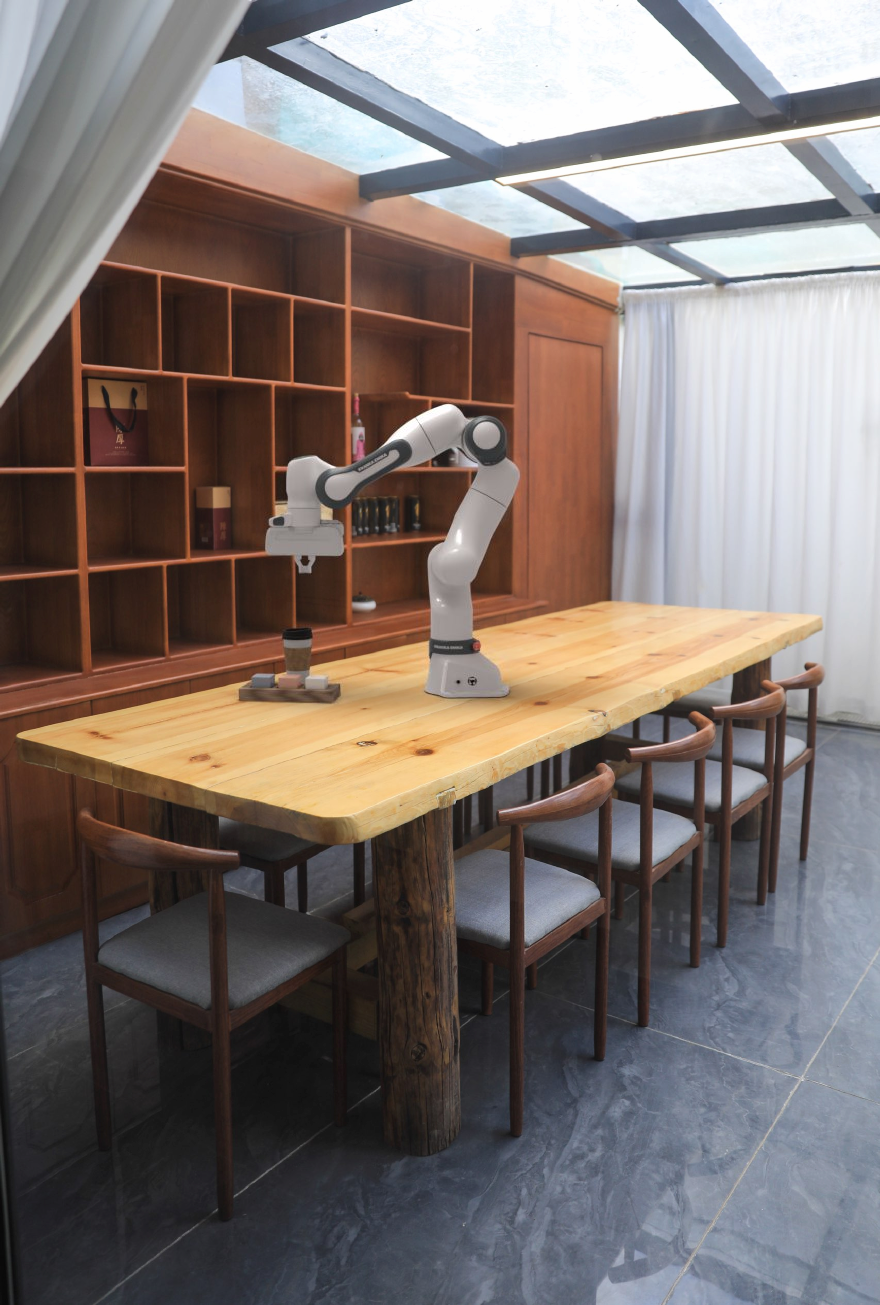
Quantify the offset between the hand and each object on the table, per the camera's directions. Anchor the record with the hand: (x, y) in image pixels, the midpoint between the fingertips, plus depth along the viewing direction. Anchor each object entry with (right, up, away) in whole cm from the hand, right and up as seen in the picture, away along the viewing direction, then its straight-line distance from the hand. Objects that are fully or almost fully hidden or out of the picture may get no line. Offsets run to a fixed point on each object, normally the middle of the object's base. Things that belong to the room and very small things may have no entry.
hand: (305, 572), depth 265 cm
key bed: (-3, -32, -4) cm, 33 cm away
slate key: (-10, -31, -4) cm, 32 cm away
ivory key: (+4, -31, -5) cm, 32 cm away
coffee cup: (-4, -29, +16) cm, 33 cm away
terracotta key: (-3, -31, -5) cm, 31 cm away
